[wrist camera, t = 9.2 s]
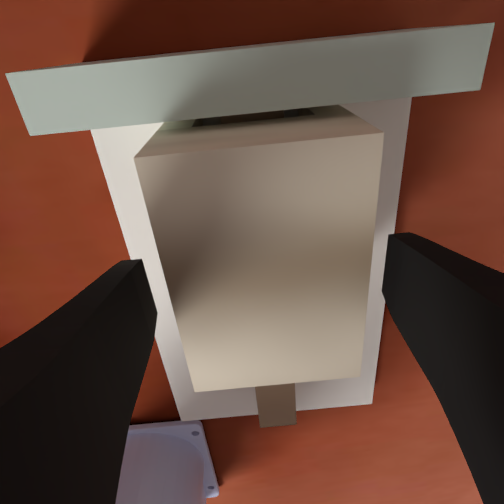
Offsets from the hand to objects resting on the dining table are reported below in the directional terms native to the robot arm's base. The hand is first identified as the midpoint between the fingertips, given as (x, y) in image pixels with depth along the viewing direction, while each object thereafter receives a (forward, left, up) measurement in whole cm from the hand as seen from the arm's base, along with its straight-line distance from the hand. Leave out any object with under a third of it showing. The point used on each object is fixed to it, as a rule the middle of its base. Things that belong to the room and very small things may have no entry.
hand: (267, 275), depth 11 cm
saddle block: (0, 0, -5) cm, 5 cm away
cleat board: (-4, 0, -6) cm, 8 cm away
